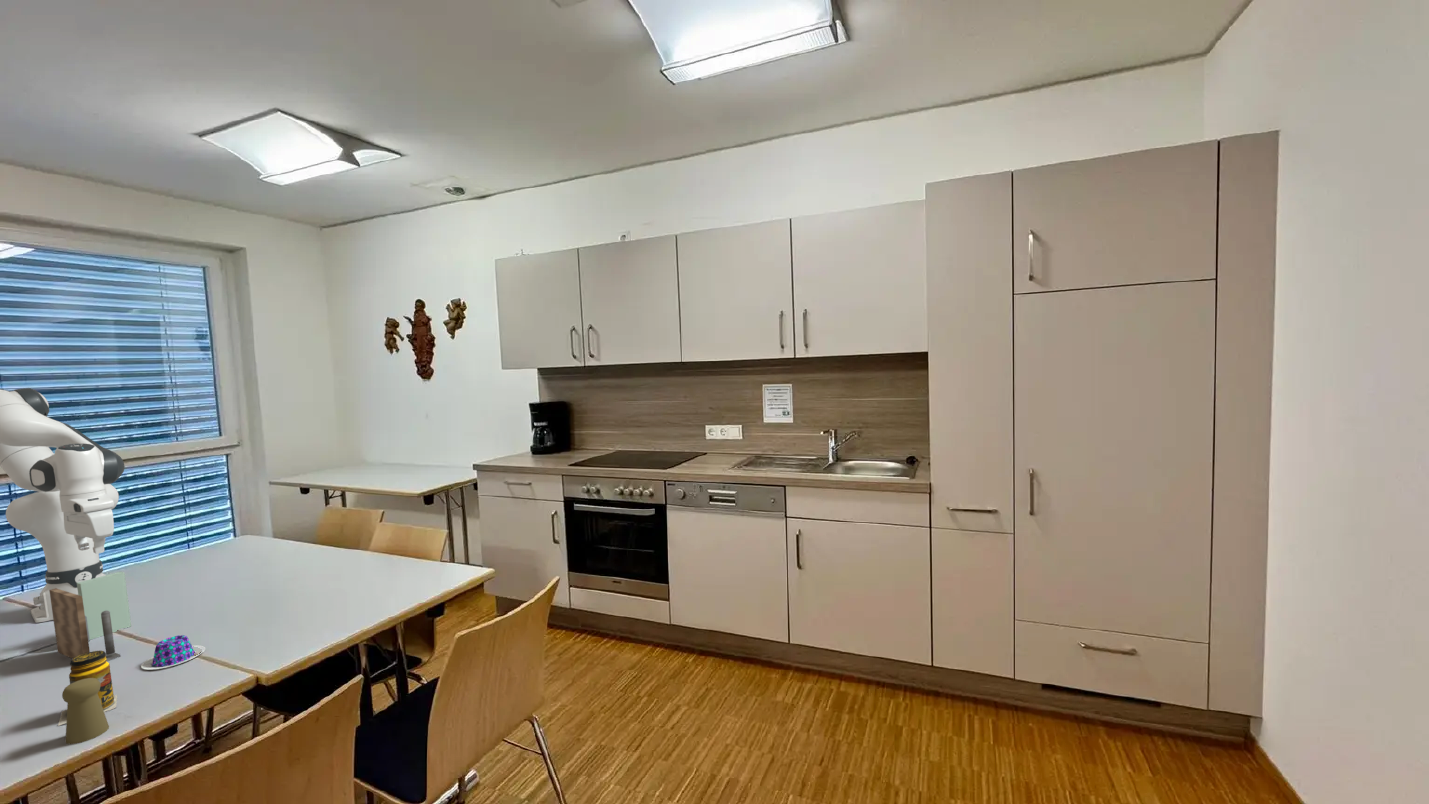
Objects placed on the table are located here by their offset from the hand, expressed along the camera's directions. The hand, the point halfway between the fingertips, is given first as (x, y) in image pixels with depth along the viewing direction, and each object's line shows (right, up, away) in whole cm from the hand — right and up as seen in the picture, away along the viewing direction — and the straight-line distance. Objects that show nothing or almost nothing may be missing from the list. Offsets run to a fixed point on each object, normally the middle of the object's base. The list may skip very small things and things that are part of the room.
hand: (91, 551), depth 163 cm
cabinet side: (+10, -24, -10) cm, 28 cm away
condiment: (+38, -25, -36) cm, 58 cm away
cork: (+47, -26, -45) cm, 70 cm away
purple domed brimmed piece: (+36, -24, -15) cm, 46 cm away
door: (+1, -24, +1) cm, 24 cm away
